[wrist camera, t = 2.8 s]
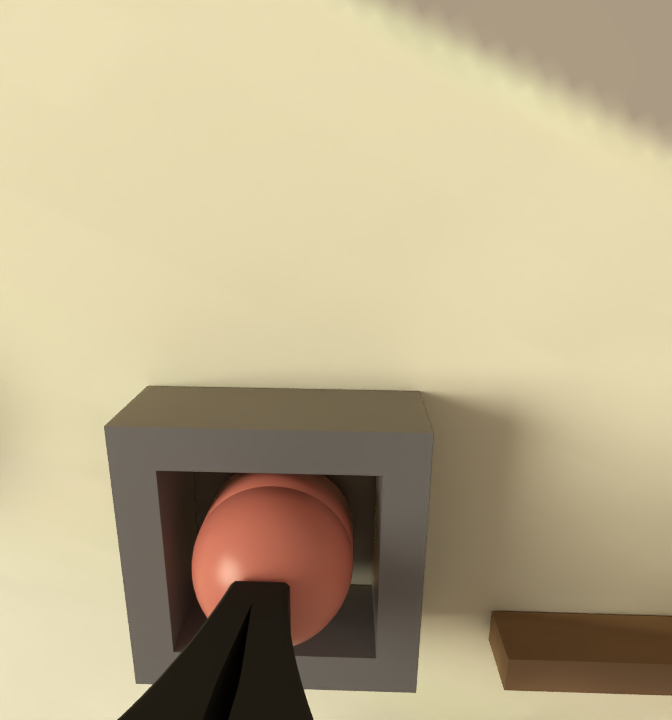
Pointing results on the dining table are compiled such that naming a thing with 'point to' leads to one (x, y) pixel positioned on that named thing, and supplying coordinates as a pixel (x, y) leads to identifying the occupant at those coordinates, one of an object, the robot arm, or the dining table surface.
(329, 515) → the salmon ball
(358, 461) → the dome housing
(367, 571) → the dining table surface
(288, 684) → the robot arm
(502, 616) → the brown wooden u shape
